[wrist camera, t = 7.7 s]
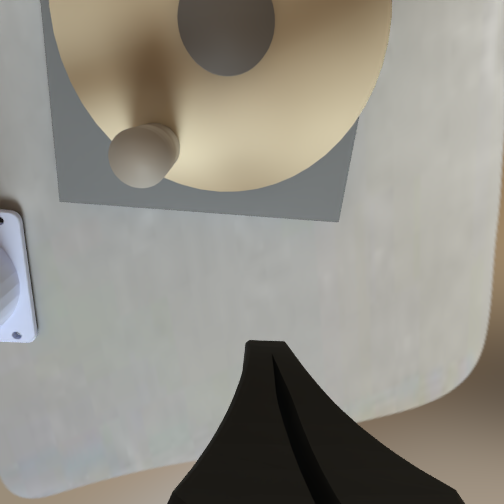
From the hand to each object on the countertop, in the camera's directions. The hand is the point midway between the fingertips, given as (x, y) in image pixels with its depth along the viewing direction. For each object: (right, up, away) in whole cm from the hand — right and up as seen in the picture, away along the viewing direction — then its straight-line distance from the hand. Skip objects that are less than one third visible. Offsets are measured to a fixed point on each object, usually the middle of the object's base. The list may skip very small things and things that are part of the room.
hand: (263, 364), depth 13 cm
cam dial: (-1, +13, +3) cm, 14 cm away
